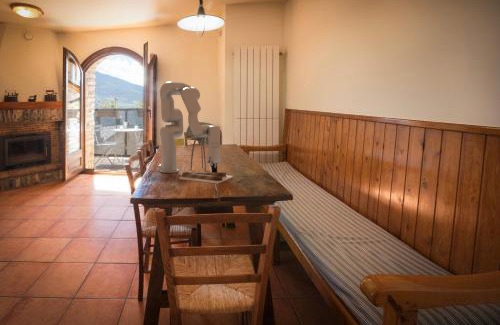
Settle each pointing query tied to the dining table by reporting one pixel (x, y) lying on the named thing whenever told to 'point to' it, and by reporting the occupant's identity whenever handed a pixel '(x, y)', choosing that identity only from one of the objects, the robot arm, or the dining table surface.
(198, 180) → the board
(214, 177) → the tongs base
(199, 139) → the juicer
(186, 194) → the dining table surface
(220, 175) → the tongs arm
